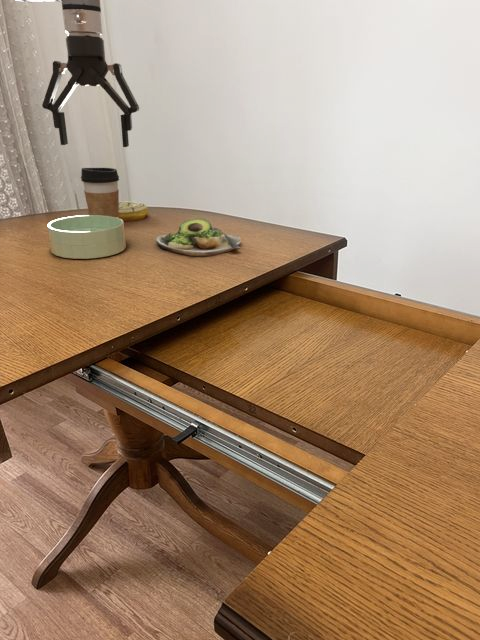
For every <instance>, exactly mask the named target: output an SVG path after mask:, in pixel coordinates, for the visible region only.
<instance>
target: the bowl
mask: <svg viewBox="0 0 480 640" xmlns="http://www.w3.org/2000/svg"><path fill="white" fill-rule="evenodd" d="M47 232H48V238H49V246H50V251H51V253H52V254H53V255H54V256H57V257H60V258H65V259H73V260H74V259H75V260H77V259H78V260H79V259H80V260H81V259H82V260H89V259H99V258H105V257H110V256H113V255H117V254H119V253H121V252H123V251H125V249H126V248H127V242H126V231H125V221H123V220H122V219H119V218H116V217H112V216H103V215H89V214H86V215H85V214H83V215H73V216H67V217H61V218H57V219H54V220H51V221H50V222H48V223H47Z"/></svg>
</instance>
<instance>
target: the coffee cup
mask: <svg viewBox="0 0 480 640" xmlns="http://www.w3.org/2000/svg"><path fill="white" fill-rule="evenodd" d="M80 173H81V174H80V175H81V176H80V180H81V182H82V183H83V189H84V190H83V193H84V197H85V203H86V206H87V210H88V215H103V216H112V217H116V218H119V202H120V200H119V199H120V197H119V196H120V195H119V194H120V192H119V191H120V190H119V188H118V187H119V183H118V182H119V181H120V179H119V178H120V176H119V174H118V170H117V168H113V167H81V172H80Z"/></svg>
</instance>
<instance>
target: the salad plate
mask: <svg viewBox="0 0 480 640" xmlns="http://www.w3.org/2000/svg"><path fill="white" fill-rule="evenodd" d="M155 242H156V245H157V246H158V247H159V248H160V249H163V250H165V251H167V252H172V253H175V254H180V255H184V256H190V257H213V256H218V255H221V254H224V253H228V252H231V251H233V250H240V249H241V247H240V245H241V237H239V236H235V235H231V234H227V233H224V232H223V231H222V230H221V229H220V228H217V227H212V224H211V222H210V221H208V220H207V219H204V218H192V219H188V220H185V221H183V222H181V223H180V225H179V226H178V231H177V232H174V233H171V232H170V233H168V234H163V235H160V236H159V235H158V236H157V237H156V241H155Z"/></svg>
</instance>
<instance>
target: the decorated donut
mask: <svg viewBox="0 0 480 640" xmlns="http://www.w3.org/2000/svg"><path fill="white" fill-rule="evenodd" d="M148 214H149V209H148V205H146V204H145V203H144V202H139V201H121V202H120V201H119V219H122V220H123V222H135V221H140V220H144V219H145V218H146V217H147V216H148Z"/></svg>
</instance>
